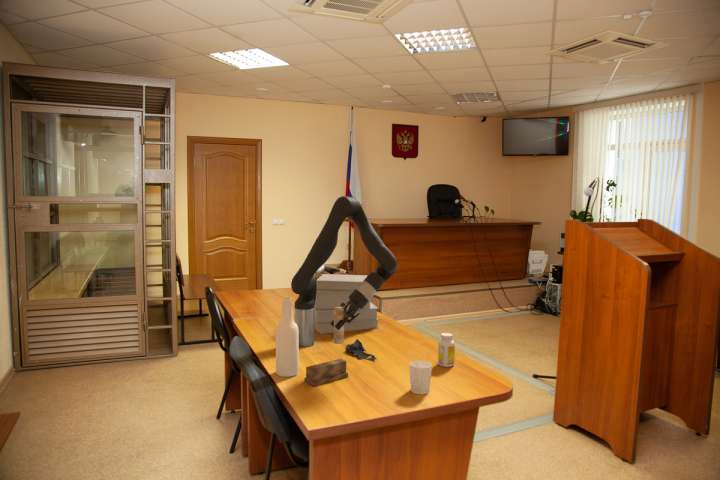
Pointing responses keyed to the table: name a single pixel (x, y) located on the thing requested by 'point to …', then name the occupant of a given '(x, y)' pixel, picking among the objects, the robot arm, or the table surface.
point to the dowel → (337, 317)
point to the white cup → (420, 377)
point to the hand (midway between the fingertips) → (334, 326)
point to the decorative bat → (359, 350)
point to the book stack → (333, 295)
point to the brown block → (326, 372)
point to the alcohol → (287, 342)
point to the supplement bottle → (446, 350)
